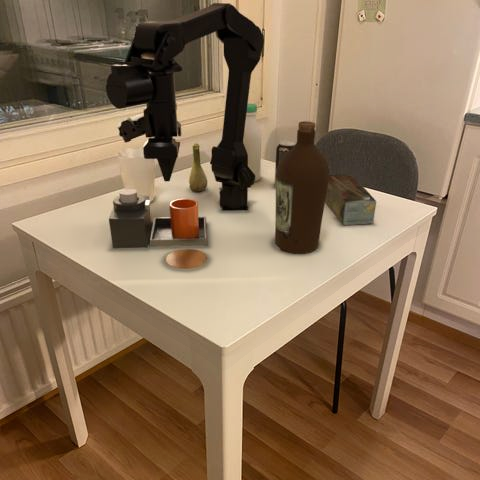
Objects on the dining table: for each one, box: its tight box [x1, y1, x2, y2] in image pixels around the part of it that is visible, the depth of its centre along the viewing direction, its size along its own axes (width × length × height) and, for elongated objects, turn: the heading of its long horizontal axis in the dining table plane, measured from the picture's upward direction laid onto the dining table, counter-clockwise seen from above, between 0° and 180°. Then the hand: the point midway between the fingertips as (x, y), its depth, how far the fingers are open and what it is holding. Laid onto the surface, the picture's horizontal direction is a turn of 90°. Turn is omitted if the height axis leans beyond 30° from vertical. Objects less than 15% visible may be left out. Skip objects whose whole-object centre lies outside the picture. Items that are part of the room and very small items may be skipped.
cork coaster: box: [165, 248, 209, 270], centre depth 98 cm, size 8×8×1 cm
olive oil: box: [274, 120, 330, 255], centre depth 98 cm, size 11×11×25 cm
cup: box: [117, 147, 156, 203], centre depth 122 cm, size 9×9×12 cm
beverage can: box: [274, 139, 297, 186], centre depth 132 cm, size 6×6×12 cm
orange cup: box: [169, 198, 199, 239], centre depth 106 cm, size 6×6×7 cm
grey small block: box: [145, 200, 151, 212], centre depth 104 cm, size 1×3×2 cm, turn 4°
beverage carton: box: [325, 173, 377, 226], centre depth 120 cm, size 8×19×7 cm, turn 7°
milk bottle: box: [243, 102, 262, 182], centre depth 135 cm, size 8×8×20 cm
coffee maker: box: [108, 195, 152, 249], centre depth 105 cm, size 7×13×8 cm, turn 4°
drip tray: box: [149, 216, 208, 248], centre depth 107 cm, size 12×12×2 cm
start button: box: [118, 188, 138, 203], centre depth 102 cm, size 4×4×2 cm
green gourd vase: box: [188, 142, 208, 192], centre depth 129 cm, size 6×5×12 cm
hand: (167, 180), depth 101 cm, fingers closed
